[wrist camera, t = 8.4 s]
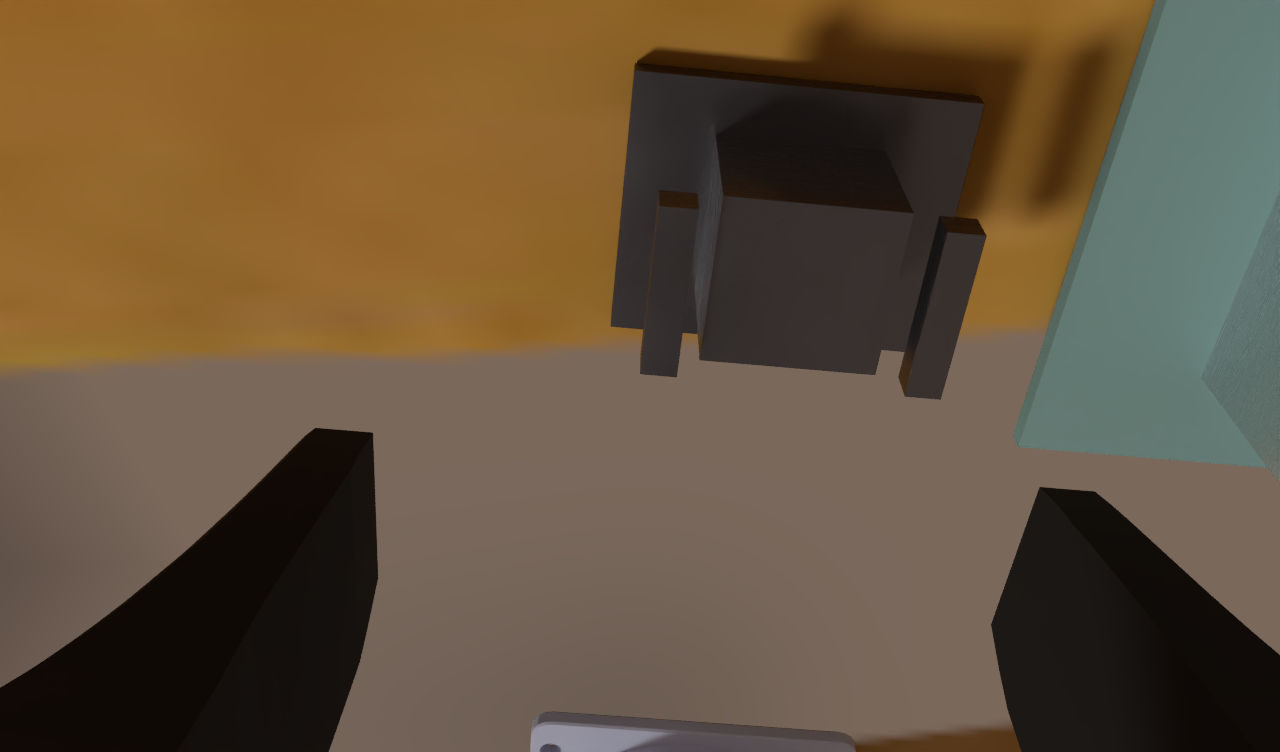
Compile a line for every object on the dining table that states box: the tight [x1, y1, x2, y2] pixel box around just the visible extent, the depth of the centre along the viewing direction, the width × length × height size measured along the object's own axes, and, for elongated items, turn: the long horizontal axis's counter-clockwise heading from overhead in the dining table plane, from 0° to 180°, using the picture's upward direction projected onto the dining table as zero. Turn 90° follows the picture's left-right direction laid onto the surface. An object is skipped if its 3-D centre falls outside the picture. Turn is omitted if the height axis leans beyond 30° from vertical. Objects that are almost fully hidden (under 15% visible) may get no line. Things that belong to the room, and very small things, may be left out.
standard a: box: [611, 63, 986, 399], centre depth 20 cm, size 5×6×4 cm
